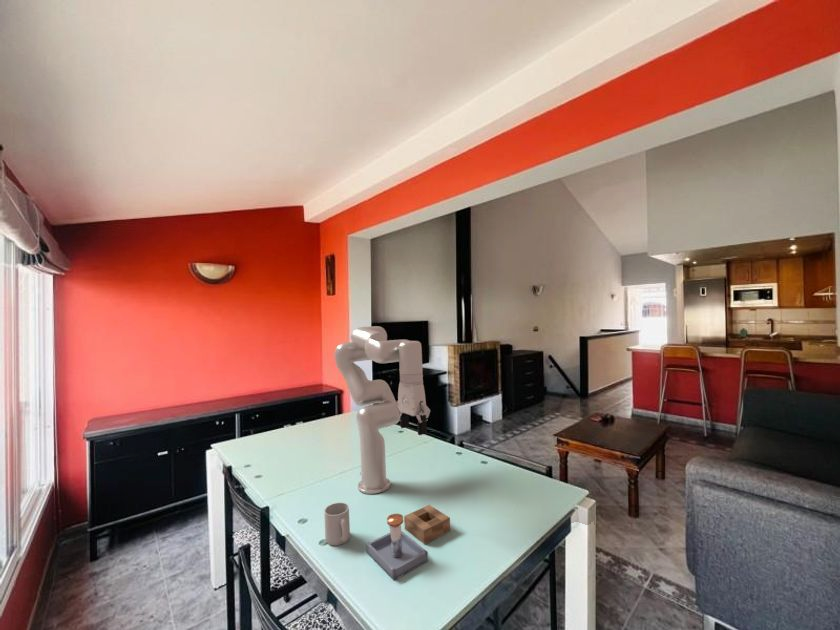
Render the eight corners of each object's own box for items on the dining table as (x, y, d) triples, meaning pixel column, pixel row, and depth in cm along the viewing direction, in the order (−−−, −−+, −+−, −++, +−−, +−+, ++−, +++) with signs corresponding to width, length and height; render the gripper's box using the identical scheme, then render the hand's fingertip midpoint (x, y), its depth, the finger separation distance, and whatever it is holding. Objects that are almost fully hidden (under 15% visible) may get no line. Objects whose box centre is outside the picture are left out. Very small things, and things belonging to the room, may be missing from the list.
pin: (386, 554, 98) (384, 517, 98) (399, 547, 101) (397, 511, 101) (394, 562, 95) (392, 524, 95) (408, 555, 97) (406, 518, 97)
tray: (366, 552, 100) (366, 543, 100) (398, 536, 107) (398, 528, 107) (393, 580, 89) (393, 570, 89) (428, 560, 96) (427, 551, 96)
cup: (344, 528, 112) (342, 500, 112) (358, 544, 104) (357, 513, 104) (321, 537, 108) (320, 508, 108) (334, 554, 100) (333, 522, 100)
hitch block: (404, 529, 110) (404, 516, 110) (429, 517, 116) (429, 504, 117) (424, 544, 102) (423, 530, 103) (450, 530, 109) (449, 517, 109)
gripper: (387, 377, 122) (389, 427, 122) (417, 383, 108) (420, 439, 108) (405, 374, 126) (407, 422, 126) (436, 380, 113) (439, 434, 113)
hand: (413, 430), depth 117 cm, fingers open, 9 cm apart
